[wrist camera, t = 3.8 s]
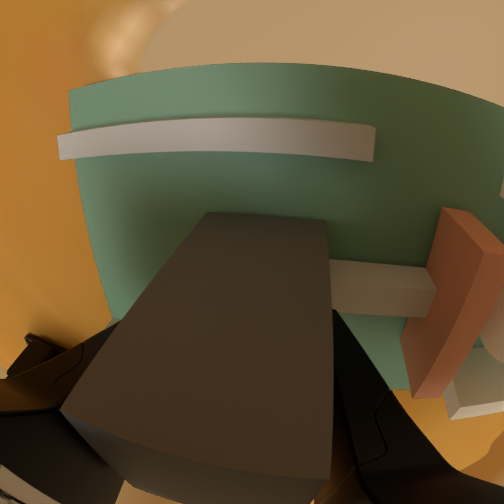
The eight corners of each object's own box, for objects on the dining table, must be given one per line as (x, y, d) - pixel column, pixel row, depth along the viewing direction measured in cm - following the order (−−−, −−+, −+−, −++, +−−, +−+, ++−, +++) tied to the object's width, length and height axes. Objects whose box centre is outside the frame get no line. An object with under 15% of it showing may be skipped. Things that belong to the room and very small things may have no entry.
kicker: (423, 339, 11) (457, 511, 4) (215, 322, 13) (144, 496, 6) (468, 211, 8) (605, 391, 2) (205, 184, 10) (29, 369, 3)
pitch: (508, 371, 13) (527, 422, 9) (131, 344, 16) (98, 398, 13) (594, 157, 6) (648, 188, 2) (81, 89, 10) (1, 102, 6)
